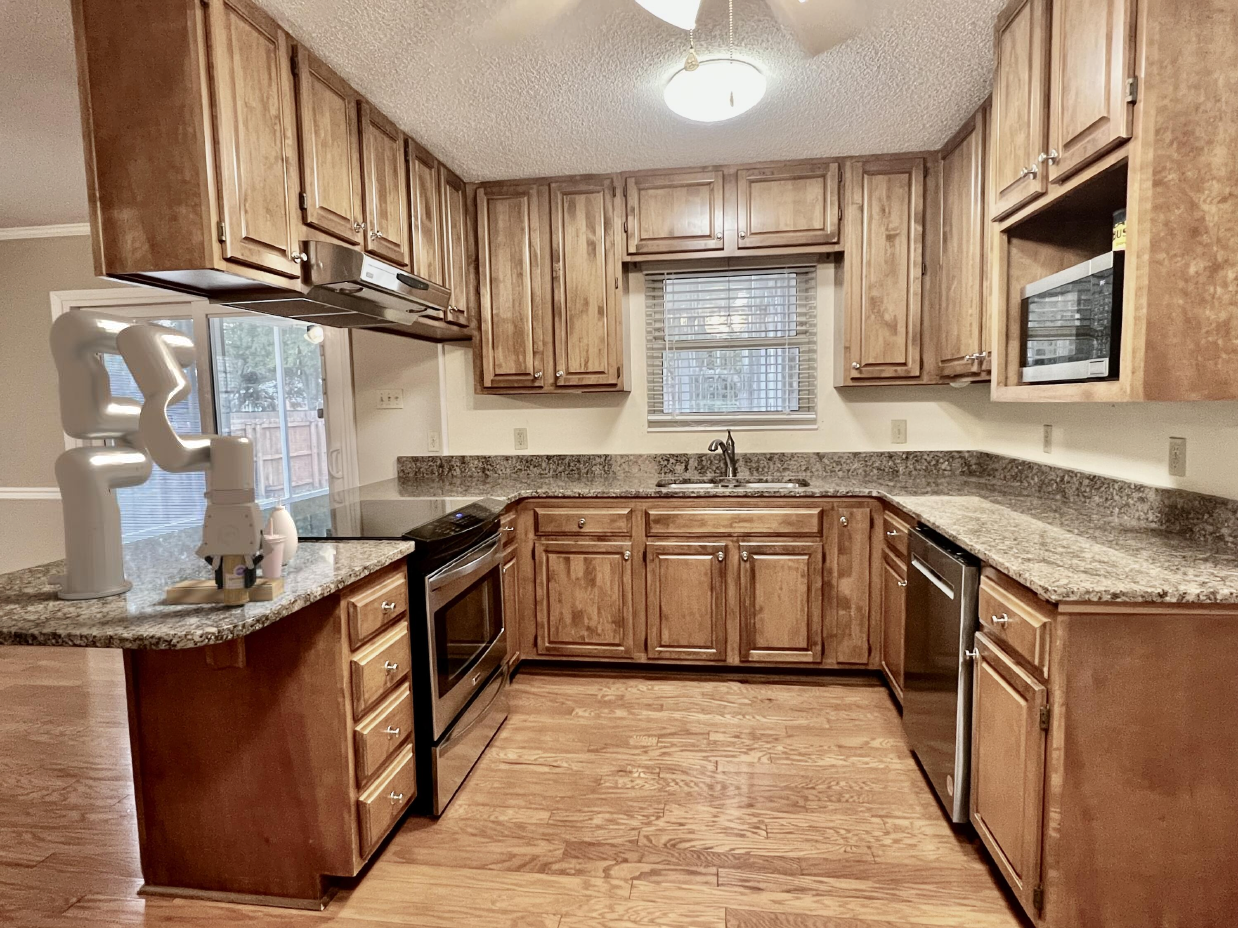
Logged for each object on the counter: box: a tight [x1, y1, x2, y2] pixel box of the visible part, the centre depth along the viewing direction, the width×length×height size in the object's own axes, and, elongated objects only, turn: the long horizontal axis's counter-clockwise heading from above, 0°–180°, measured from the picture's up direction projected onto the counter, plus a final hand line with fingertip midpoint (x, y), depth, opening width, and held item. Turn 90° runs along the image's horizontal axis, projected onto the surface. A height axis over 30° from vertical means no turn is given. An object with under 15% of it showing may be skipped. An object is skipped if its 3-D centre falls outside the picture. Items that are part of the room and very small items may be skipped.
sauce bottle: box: [264, 496, 299, 566], centre depth 167 cm, size 8×8×18 cm
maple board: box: [166, 577, 285, 605], centre depth 137 cm, size 20×7×3 cm, turn 100°
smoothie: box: [258, 518, 286, 579], centre depth 155 cm, size 6×6×14 cm
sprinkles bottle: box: [222, 555, 250, 606], centre depth 130 cm, size 5×5×13 cm
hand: (236, 586), depth 131 cm, fingers closed on sprinkles bottle, 4 cm apart
